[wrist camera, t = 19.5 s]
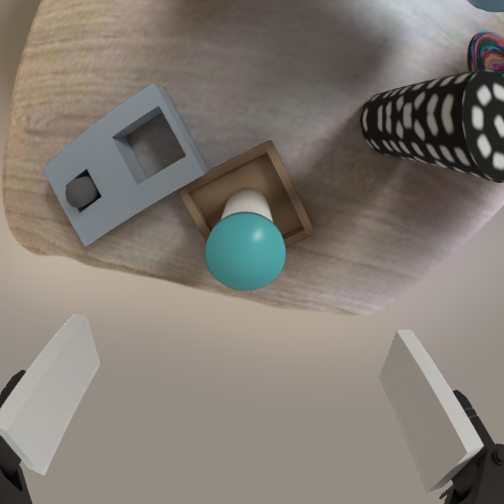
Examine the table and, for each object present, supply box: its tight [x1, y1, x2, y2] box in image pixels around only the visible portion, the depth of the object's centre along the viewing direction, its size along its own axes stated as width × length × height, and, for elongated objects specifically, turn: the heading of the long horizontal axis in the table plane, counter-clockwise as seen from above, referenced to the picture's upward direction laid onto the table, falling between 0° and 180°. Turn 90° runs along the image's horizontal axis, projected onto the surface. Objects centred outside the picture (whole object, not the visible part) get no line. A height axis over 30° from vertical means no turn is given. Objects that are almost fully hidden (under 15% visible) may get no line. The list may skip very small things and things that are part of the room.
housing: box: [43, 82, 209, 247], centre depth 33 cm, size 12×18×4 cm, turn 117°
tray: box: [177, 140, 316, 248], centre depth 35 cm, size 12×12×2 cm
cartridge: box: [205, 187, 286, 291], centre depth 29 cm, size 6×6×15 cm
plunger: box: [65, 175, 102, 208], centre depth 32 cm, size 3×3×4 cm
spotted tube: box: [360, 69, 504, 183], centre depth 23 cm, size 8×8×20 cm
